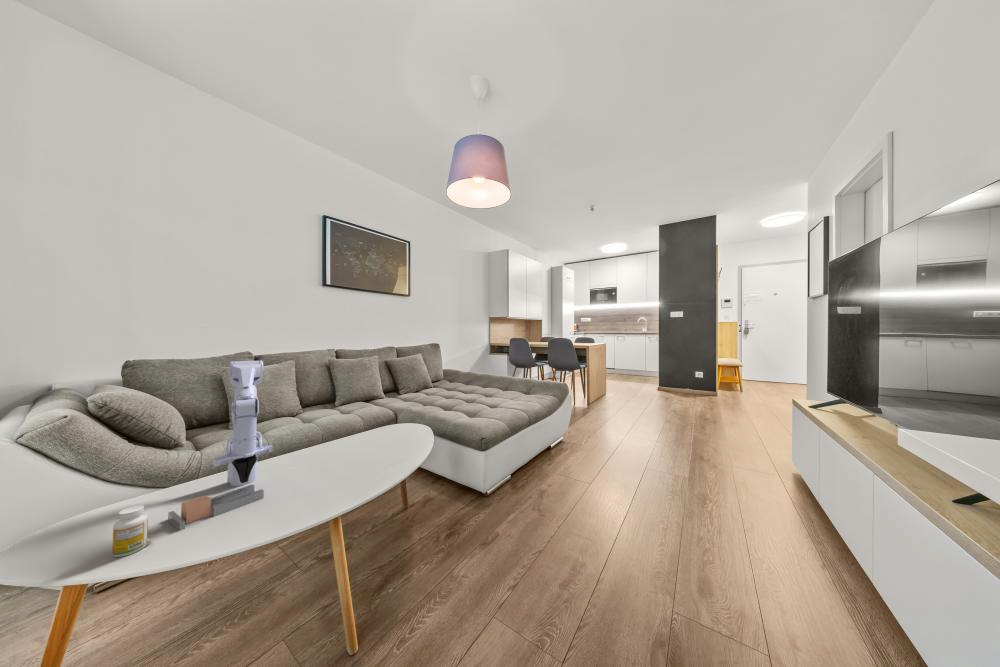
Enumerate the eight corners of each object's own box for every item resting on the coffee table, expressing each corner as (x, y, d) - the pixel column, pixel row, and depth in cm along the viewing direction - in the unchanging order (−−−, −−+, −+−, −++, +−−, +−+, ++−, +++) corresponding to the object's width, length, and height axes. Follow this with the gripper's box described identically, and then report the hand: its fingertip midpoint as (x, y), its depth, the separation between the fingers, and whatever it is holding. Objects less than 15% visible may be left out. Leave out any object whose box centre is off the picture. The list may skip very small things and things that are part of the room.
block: (181, 519, 85) (181, 502, 86) (205, 510, 90) (205, 494, 90) (186, 523, 83) (186, 506, 83) (210, 514, 87) (211, 498, 88)
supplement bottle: (123, 545, 76) (125, 505, 76) (152, 540, 78) (154, 501, 78) (105, 560, 71) (106, 517, 71) (136, 554, 73) (138, 512, 73)
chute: (167, 523, 85) (168, 510, 85) (261, 490, 104) (261, 480, 104) (179, 534, 80) (179, 521, 80) (275, 498, 99) (275, 487, 99)
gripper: (219, 446, 88) (218, 494, 88) (277, 433, 100) (276, 475, 100) (210, 442, 92) (209, 488, 91) (267, 430, 104) (266, 471, 104)
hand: (243, 481), depth 96 cm, fingers closed
